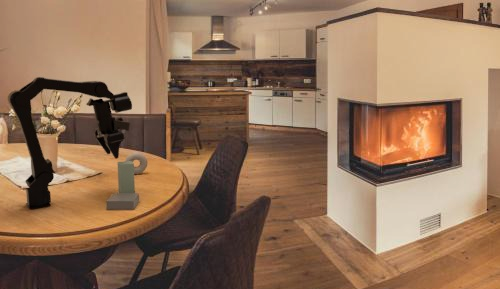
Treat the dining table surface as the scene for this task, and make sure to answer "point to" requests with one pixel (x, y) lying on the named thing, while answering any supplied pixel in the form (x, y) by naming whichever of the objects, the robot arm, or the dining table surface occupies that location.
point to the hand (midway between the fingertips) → (112, 156)
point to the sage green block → (126, 177)
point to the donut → (141, 158)
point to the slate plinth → (122, 201)
